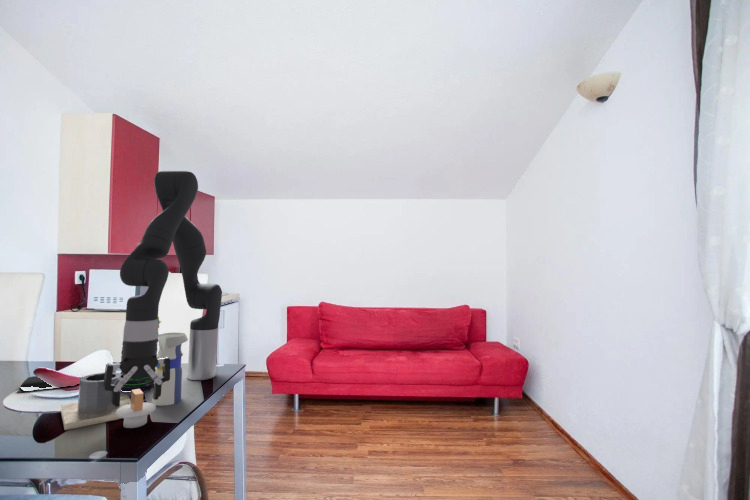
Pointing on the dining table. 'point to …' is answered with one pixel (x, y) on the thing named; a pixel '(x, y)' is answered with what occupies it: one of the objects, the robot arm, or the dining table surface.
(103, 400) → the grey container on board
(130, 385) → the storage jar
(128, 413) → the white lid with handle
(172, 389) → the white plastic tall bottle
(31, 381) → the carrying case or bag
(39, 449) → the dining table surface
